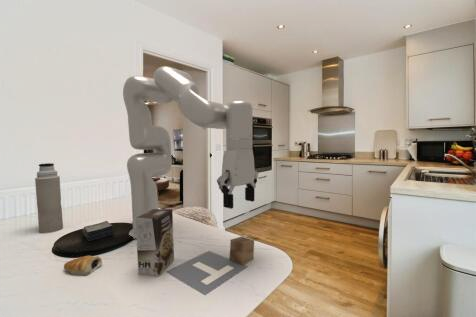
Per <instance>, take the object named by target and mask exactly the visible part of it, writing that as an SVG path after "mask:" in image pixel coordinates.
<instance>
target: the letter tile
mask: <svg viewBox="0 0 476 317" xmlns="http://www.w3.org/2000/svg"><path fill="white" fill-rule="evenodd" d="M247 268H248V265H246V264H245V265H240V264H238V263H235V262H233V261H231V260H230V258H228V257H226V256H223V255H221V254H219V253H216V252H213V251H211V250H207V251H206V252H203V253H201V254H200V255H197V256H195V257H193V258H191V259H188V260H187V261H185V262H182V263H181V264H179V265H177V266H174V267H173V268H171V269H168V270H165V273H166V274H168V275H170V276H172V277H174V278H175V279H177V280H178V281H180V282H182V283H183V284H185V285H187V286H189V287H190V288H192V289H194V290H195V291H197V292H199V293H200V294H202V295H204V296H207V295H208V294H210V293H211V292H213V291H214V290H216V289H217V288H219V287H220V286H222V285H223V284H224V283H227V281H229V280H230V279H232V278H233V277H235V276H237V275H238V274H239V273H240V272H243V271H244V270H245V269H247Z"/></svg>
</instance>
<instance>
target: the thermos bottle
mask: <svg viewBox="0 0 476 317" xmlns="http://www.w3.org/2000/svg"><path fill="white" fill-rule="evenodd" d="M38 167H39V170H38V171H37V172H36V177H35V178H34V181H35V183H34V185H35V193H36V194H35V195H36V207H37V208H36V209H37V220H38V221H37V222H38V232H39V233H40V234H50V233H54V232H58V231H60V230H62V229H64V222H63V210H62V192H61V181H60V180H61V179H60V175H58V170H55V164H54V163H51V162H50V163H49V162H48V163H39V164H38Z"/></svg>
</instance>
